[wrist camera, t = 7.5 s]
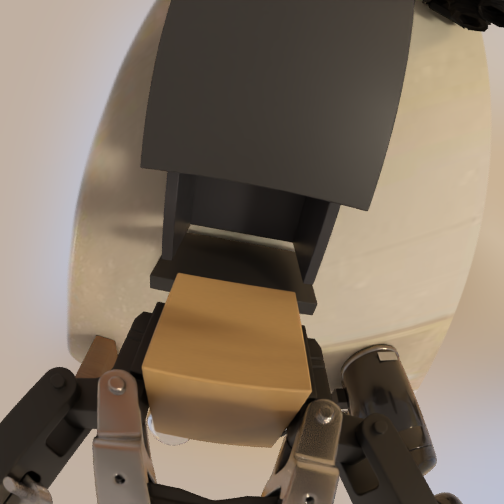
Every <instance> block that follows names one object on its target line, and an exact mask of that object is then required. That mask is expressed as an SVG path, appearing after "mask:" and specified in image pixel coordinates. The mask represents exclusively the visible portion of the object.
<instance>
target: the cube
mask: <svg viewBox="0 0 504 504" xmlns="http://www.w3.org/2000/svg"><path fill="white" fill-rule="evenodd" d="M142 373H143V378H144V384H145V389H146V394H147V398H148V403H149V407H150V412H151V416H152V420H153V424H154V428H155V431H156V432H159V433H163V434H167V435H172V436H177V437H182V438H187V439H193V440H199V441H206V442H212V443H220V444H229V445H239V446H251V447H268V448H271V447H272V446H273V445H274V444H275V443H276V441H277V440H278V439H279V437H280V436H281V435H282V433H283V432H284V431H285V429H286V428H287V427H288V425H289V424H290V423H291V421H292V420H293V418H294V417H295V416H296V414H297V413H298V411H299V410H300V408H301V407H302V406H303V404H304V403H305V401H306V400H307V398H308V397H309V395H310V394H311V392H312V388H311V381H310V375H309V368H308V362H307V356H306V350H305V344H304V338H303V332H302V327H301V321H300V315H299V310H298V304H297V299H296V294H295V292H291V291H284V290H277V289H271V288H265V287H258V286H252V285H246V284H240V283H234V282H228V281H222V280H216V279H210V278H205V277H199V276H194V275H188V274H183V273H178V274H177V276H176V278H175V281H174V283H173V286H172V288H171V290H170V293H169V295H168V298H167V300H166V303H165V305H164V308H163V310H162V313H161V315H160V318H159V321H158V323H157V326H156V328H155V331H154V334H153V336H152V339H151V342H150V344H149V347H148V350H147V353H146V355H145V358H144V361H143V364H142Z"/></svg>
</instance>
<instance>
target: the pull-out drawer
mask: <svg viewBox="0 0 504 504" xmlns="http://www.w3.org/2000/svg"><path fill="white" fill-rule="evenodd" d="M340 205H341V204H337V203H333V202H329V201H324V200H320V199H316V198H312V197H307V196H303V195H298V194H294V193H289V192H284V191H280V190H275V189H270V188H265V187H260V186H255V185H249V184H244V183H239V182H233V181H227V180H222V179H216V178H210V177H203V176H197V175H190V174H184V173H177V172H169V171H168V173H167V183H166V194H165V206H164V220H163V237H162V255H161V257H160V259H159V260H158V262H157V264H156V266H155V267H154V269H153V271H152V273H151V275H150V288H153V289H158V290H163V291H168V292H170V290H171V288H172V286H173V283H174V281H175V278H176V276H177V274H178V273H183V274H188V275H194V276H199V277H205V278H210V279H216V280H222V281H228V282H234V283H240V284H246V285H252V286H258V287H265V288H271V289H277V290H284V291H291V292H295V294H296V299H297V304H298V310H299V314H307V315H313V313H314V311H315V308H316V306H317V301H316V297H315V293H314V290H313V286H312V285H313V283H314V280H315V278H316V275H317V272H318V270H319V267H320V264H321V261H322V259H323V256H324V253H325V250H326V247H327V244H328V242H329V239H330V236H331V233H332V230H333V227H334V224H335V221H336V218H337V215H338V211H339V208H340ZM190 224H193V225H199V226H205V227H210V228H216V229H222V230H227V231H233V232H238V233H244V234H249V235H255V236H260V237H266V238H271V239H277V240H282V241H287V242H293V245H294V249H295V252H294V251H288V250H283V249H277V248H272V247H266V246H261V245H255V244H250V243H244V242H239V241H233V240H228V239H222V238H216V237H211V236H205V235H199V234H194V233H188V232H187V230H188V228H189V226H190Z"/></svg>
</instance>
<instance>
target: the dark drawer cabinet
mask: <svg viewBox="0 0 504 504" xmlns="http://www.w3.org/2000/svg"><path fill="white" fill-rule="evenodd" d="M414 4H415V0H171V3H170V6H169V9H168V13H167V16H166V20H165V23H164V27H163V31H162V35H161V39H160V43H159V47H158V52H157V56H156V61H155V66H154V71H153V76H152V81H151V87H150V92H149V99H148V105H147V112H146V119H145V127H144V135H143V144H142V154H141V165H140V167H141V168H146V169H154V170H162V171H169V172H177V173H184V174H190V175H197V176H203V177H210V178H216V179H222V180H227V181H233V182H239V183H244V184H249V185H255V186H260V187H265V188H270V189H275V190H280V191H284V192H289V193H294V194H298V195H303V196H307V197H312V198H316V199H320V200H324V201H329V202H333V203H337V204H341V205H345V206H349V207H353V208H356V209H360V210H364V211H368V209H369V206H370V203H371V201H372V198H373V195H374V191H375V188H376V185H377V182H378V179H379V176H380V172H381V169H382V166H383V162H384V159H385V156H386V152H387V148H388V145H389V141H390V137H391V134H392V130H393V126H394V122H395V118H396V114H397V109H398V105H399V101H400V96H401V91H402V86H403V81H404V76H405V71H406V65H407V60H408V53H409V47H410V40H411V33H412V24H413V15H414Z"/></svg>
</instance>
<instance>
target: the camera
mask: <svg viewBox="0 0 504 504" xmlns="http://www.w3.org/2000/svg"><path fill="white" fill-rule="evenodd" d="M424 2H426V4H427V5H429V8H430V9H432V10H434V11H436V12H438V13H439V14H441V15H443V16H445V17H446V18H448V19H450V20H451V21H453V22H455V23H456V24H458V25H459V26H461V27H462V28H464V29H465V28H467V29H468V30H474V31H483V32H484V31H485V30H487V29H488V25H491V23H493V24H495V25H496V26H498V27H504V0H423V3H424Z"/></svg>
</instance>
